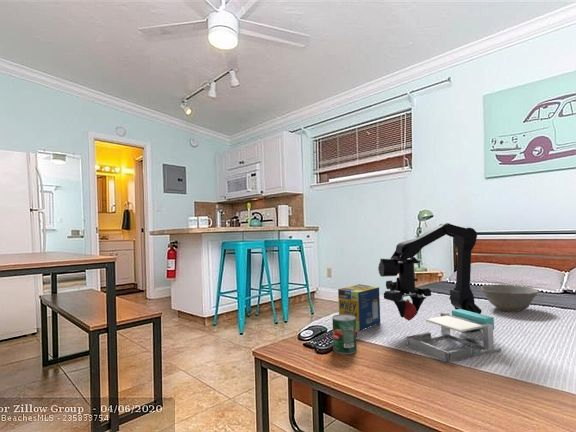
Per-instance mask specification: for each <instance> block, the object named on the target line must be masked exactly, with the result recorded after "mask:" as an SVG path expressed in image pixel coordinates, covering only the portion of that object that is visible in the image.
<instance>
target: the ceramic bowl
mask: <svg viewBox="0 0 576 432" xmlns="http://www.w3.org/2000/svg"><path fill="white" fill-rule="evenodd" d="M480 289H481V291H482V292H483V293H484V296H485V298H486V300H487V301H488V302H489V303H490V304H491V305H493V307H495V308H496V309H498V310H500V311H502V312H508V313H512V312H515V313H517V312H522V311H525V310H526V309H528V308H529V307H530V306H531V303H532V302H533V300H534V299H535V298H536V296H537V295H538V294H539V293H540V290H539V289H537V288H535V287H530V286H524V285H516V284H515V285H513V284H486V285H482V286H480Z"/></svg>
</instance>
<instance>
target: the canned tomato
mask: <svg viewBox="0 0 576 432" xmlns="http://www.w3.org/2000/svg"><path fill="white" fill-rule="evenodd" d="M331 319H332V340H333V341H332V342H333V343H332V347H333V349H332V350H333V352H335V353H336V354H340V355H341V354H342V355H351V354H352V355H353V354H355V353H356V352H357V350H358V349H357V348H358V346H357V331H356V317H355V316H353V315H348V314H339V313H338V314H334V315H333V316H332V318H331Z"/></svg>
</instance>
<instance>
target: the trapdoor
mask: <svg viewBox="0 0 576 432" xmlns="http://www.w3.org/2000/svg"><path fill="white" fill-rule="evenodd" d="M494 319H495V318H494V317H493V316H490V315H485V314H482V313H481V314H478V313H474V312H470V311H466V310H462V309H456V310H455V309H452V310H451V314H450V313H449V314H447V315H446V316H441V315H440V316H435V317H431V318H427V319H425V322H426V323H427V322H428V323H431V324H433V325H437V326H440V327H441V326H443V327H446V328H449V329H450V330H453V331H454V332H455V331H456V332H457V333H458V332H459V333H462V332H468V330H473V329H480V330H479V331H483V327H482V325H483V324H491V325H493V331H494V330H495V321H494Z"/></svg>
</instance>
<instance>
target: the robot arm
mask: <svg viewBox="0 0 576 432" xmlns="http://www.w3.org/2000/svg"><path fill="white" fill-rule="evenodd" d="M444 236H448V237H451V238H452V239H453V243H454V245H455V248H456V251H457V253H456V254H457V255H456V274H455V275H456V277H455V280H456V281H455V283H456V284H455V287H454V288H453V289H449V297H448V299H449V300H450V303H451V305H452V306H453V307H454V310H456V309H462V310H466V311H470V312H474V313H478V314H482V312H483V310H482V309H481V308H480V307H479V306H478V305H477V304H476V303H475V297H474V293H473V291H472V288H471V271H472V269H471V268H472V266H471V265H472V251H473V249H474V247H475V246H476V244H477V239H478V232H477V230H475V229H474V228H472V227H463V226H459V225H454V224H452V223H448V222H446V223H443V222H442V223H440V224H439V225H437V226H435V227H434V228H432V229H430V230H428V231H426V232H424V233H423V234H421V235H419V236H417V237H415V238H412V239H409V240H405V241H402V242H398V244H397V245H396V247H395V250H394V253H393V254H392V256H391V257H390V258H380V262H379V264H378V268H377V269H378V273H379V276H380V277H383V278H384V277H396V281H393V280H386V281H385V287H386V289H387V290H385V291H384V293H383V299H384V300H387V301H391V302H393V303H394V305H395V306H396V308H397V310H398V313H399V315H400V317H401V318H404V314H405V305H406V300H407V299H404V297H405V298H406V297H409V298H410V299H411V303H412V304H413V305H414V306H415V308H416V315H415V316H417V314H418V313H419V310H420V308H421V306H422V304H423V302H424V301H425V300H426V299H427V297H430V296H432V291H431V289H430V288H429V287H425V286H416V282H418V278H417V277H416V274H415V272H416V271H415V264H420V261H419V260H418V259H417V258H416V257H415V256H416V255H417V254H419V253H420V251H421V250H422V249H423V248H424V247H426V246H428V245H430V244H432V243H433V242H435V241H438V240H439V239H441V238H443V237H444ZM476 331H477V332H478V331H481V330H480V329H473V330H468V331H467V332H469V333H473V332H476Z"/></svg>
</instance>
